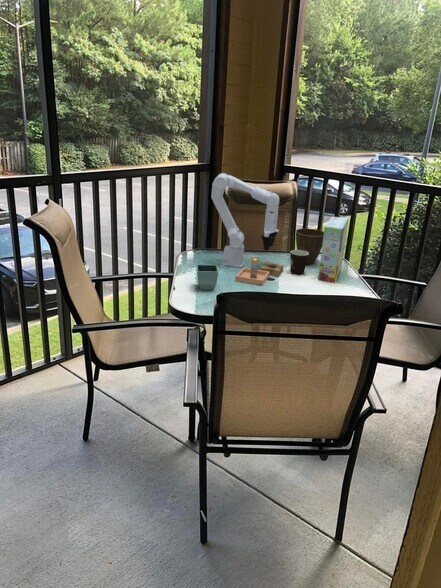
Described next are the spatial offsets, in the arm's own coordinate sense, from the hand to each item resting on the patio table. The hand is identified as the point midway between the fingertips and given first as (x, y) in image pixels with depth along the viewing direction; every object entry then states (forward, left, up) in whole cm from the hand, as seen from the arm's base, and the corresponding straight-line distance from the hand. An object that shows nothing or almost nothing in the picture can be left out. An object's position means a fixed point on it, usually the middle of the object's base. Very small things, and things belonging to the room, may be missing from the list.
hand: (268, 247), depth 220 cm
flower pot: (-17, -38, -10) cm, 43 cm away
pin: (-2, -19, -9) cm, 21 cm away
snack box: (+30, +4, -10) cm, 32 cm away
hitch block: (+4, -6, -10) cm, 12 cm away
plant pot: (+17, +17, -10) cm, 26 cm away
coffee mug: (+15, +1, -10) cm, 18 cm away
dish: (-2, -19, -10) cm, 21 cm away
